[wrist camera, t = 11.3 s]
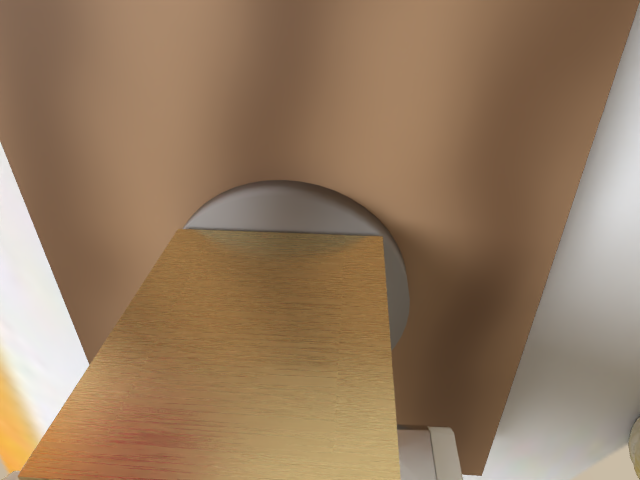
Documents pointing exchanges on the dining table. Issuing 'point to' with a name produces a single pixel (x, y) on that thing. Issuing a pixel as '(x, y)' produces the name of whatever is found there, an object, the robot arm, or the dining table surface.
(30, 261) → the dining table surface
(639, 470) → the bread roll
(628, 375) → the dining table surface
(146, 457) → the wooden cube block
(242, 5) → the walnut board
